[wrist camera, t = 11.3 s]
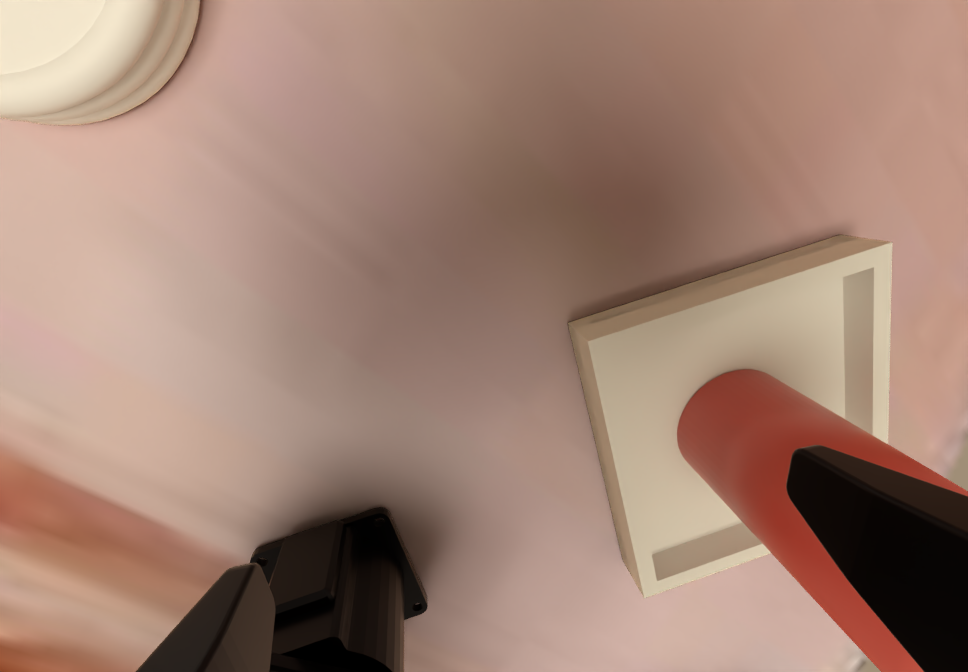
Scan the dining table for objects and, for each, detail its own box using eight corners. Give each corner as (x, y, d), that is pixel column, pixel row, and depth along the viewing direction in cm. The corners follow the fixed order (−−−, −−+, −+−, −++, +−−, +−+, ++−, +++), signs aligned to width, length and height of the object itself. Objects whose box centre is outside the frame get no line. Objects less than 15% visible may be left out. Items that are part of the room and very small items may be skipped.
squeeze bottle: (782, 462, 24) (1264, 850, 10) (675, 483, 24) (1037, 920, 10) (794, 360, 22) (1405, 673, 9) (678, 380, 22) (1132, 748, 8)
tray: (844, 482, 27) (886, 512, 24) (622, 560, 26) (644, 598, 24) (839, 234, 22) (892, 242, 19) (567, 322, 21) (587, 341, 19)
